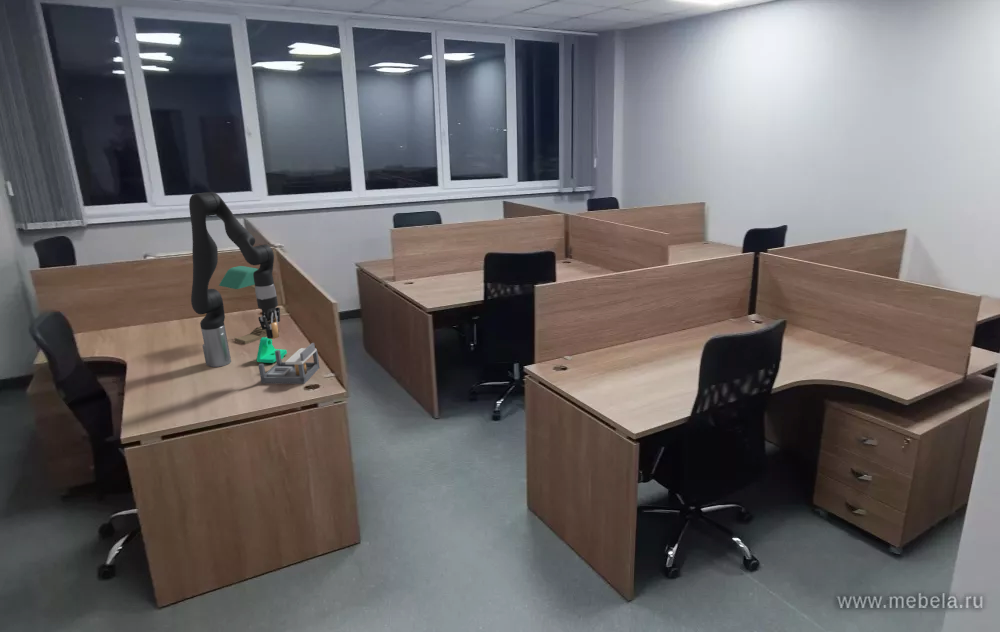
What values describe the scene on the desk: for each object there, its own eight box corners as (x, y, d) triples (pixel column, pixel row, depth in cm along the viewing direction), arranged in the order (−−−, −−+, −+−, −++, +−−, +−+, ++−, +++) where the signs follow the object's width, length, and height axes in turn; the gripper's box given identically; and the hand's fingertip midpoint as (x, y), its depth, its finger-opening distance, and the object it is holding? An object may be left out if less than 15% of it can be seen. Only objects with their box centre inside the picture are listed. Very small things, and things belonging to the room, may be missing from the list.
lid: (285, 364, 232) (283, 355, 231) (300, 350, 246) (299, 341, 245) (302, 364, 231) (300, 355, 230) (316, 350, 246) (315, 341, 244)
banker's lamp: (284, 333, 292) (273, 265, 281) (247, 346, 275) (235, 274, 264) (264, 328, 300) (253, 261, 289) (227, 340, 284) (214, 271, 273)
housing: (261, 383, 235) (258, 365, 233) (279, 367, 250) (276, 350, 248) (304, 383, 233) (301, 365, 231) (319, 367, 249) (317, 350, 246)
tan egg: (265, 338, 235) (263, 324, 233) (270, 335, 239) (268, 321, 237) (276, 338, 234) (273, 324, 233) (281, 335, 239) (278, 321, 237)
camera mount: (273, 365, 253) (269, 343, 250) (257, 364, 255) (253, 342, 252) (288, 355, 264) (285, 333, 261) (273, 354, 266) (269, 332, 263)
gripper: (265, 290, 238) (272, 330, 244) (248, 300, 225) (255, 342, 230) (283, 290, 238) (289, 330, 243) (266, 300, 224) (273, 342, 229)
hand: (273, 335), depth 236 cm, fingers closed on tan egg, 4 cm apart
